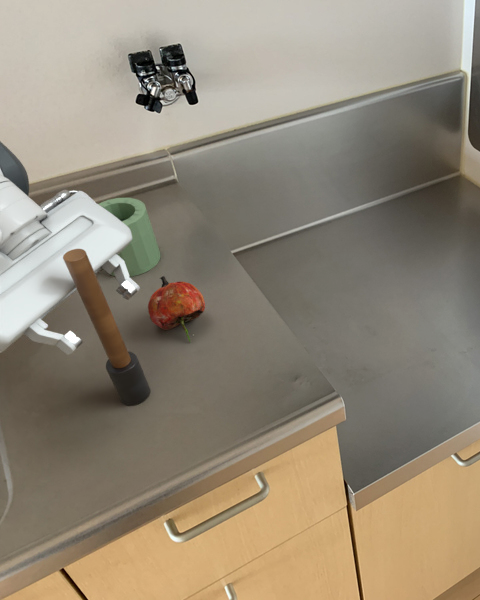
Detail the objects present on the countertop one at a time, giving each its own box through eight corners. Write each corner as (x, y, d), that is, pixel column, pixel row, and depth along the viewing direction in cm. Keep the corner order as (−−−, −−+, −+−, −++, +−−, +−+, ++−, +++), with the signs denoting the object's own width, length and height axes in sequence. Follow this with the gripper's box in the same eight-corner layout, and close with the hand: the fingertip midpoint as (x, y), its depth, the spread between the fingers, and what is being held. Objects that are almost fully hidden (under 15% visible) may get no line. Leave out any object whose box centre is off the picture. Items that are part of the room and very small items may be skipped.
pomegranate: (219, 337, 88) (199, 273, 89) (210, 330, 80) (188, 260, 82) (167, 354, 86) (147, 288, 88) (153, 348, 79) (132, 277, 80)
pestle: (122, 409, 75) (55, 269, 61) (119, 389, 78) (54, 249, 63) (152, 399, 76) (94, 260, 62) (148, 380, 79) (91, 241, 64)
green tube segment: (106, 283, 93) (86, 234, 87) (101, 252, 99) (82, 205, 93) (164, 268, 96) (149, 220, 90) (156, 239, 102) (141, 192, 96)
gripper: (64, 195, 74) (154, 276, 78) (-90, 301, 59) (29, 393, 63) (81, 169, 70) (175, 255, 73) (-80, 275, 55) (47, 375, 59)
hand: (106, 320), depth 68 cm, fingers open, 8 cm apart
